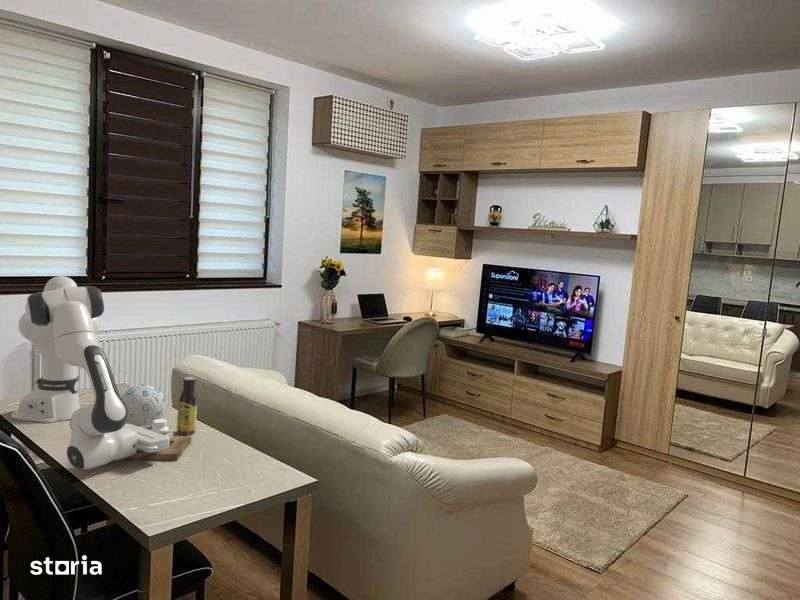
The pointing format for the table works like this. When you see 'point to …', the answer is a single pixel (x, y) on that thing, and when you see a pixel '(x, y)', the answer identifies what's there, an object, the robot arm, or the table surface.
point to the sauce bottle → (187, 408)
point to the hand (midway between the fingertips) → (161, 431)
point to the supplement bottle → (160, 426)
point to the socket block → (166, 450)
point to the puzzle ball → (143, 405)
